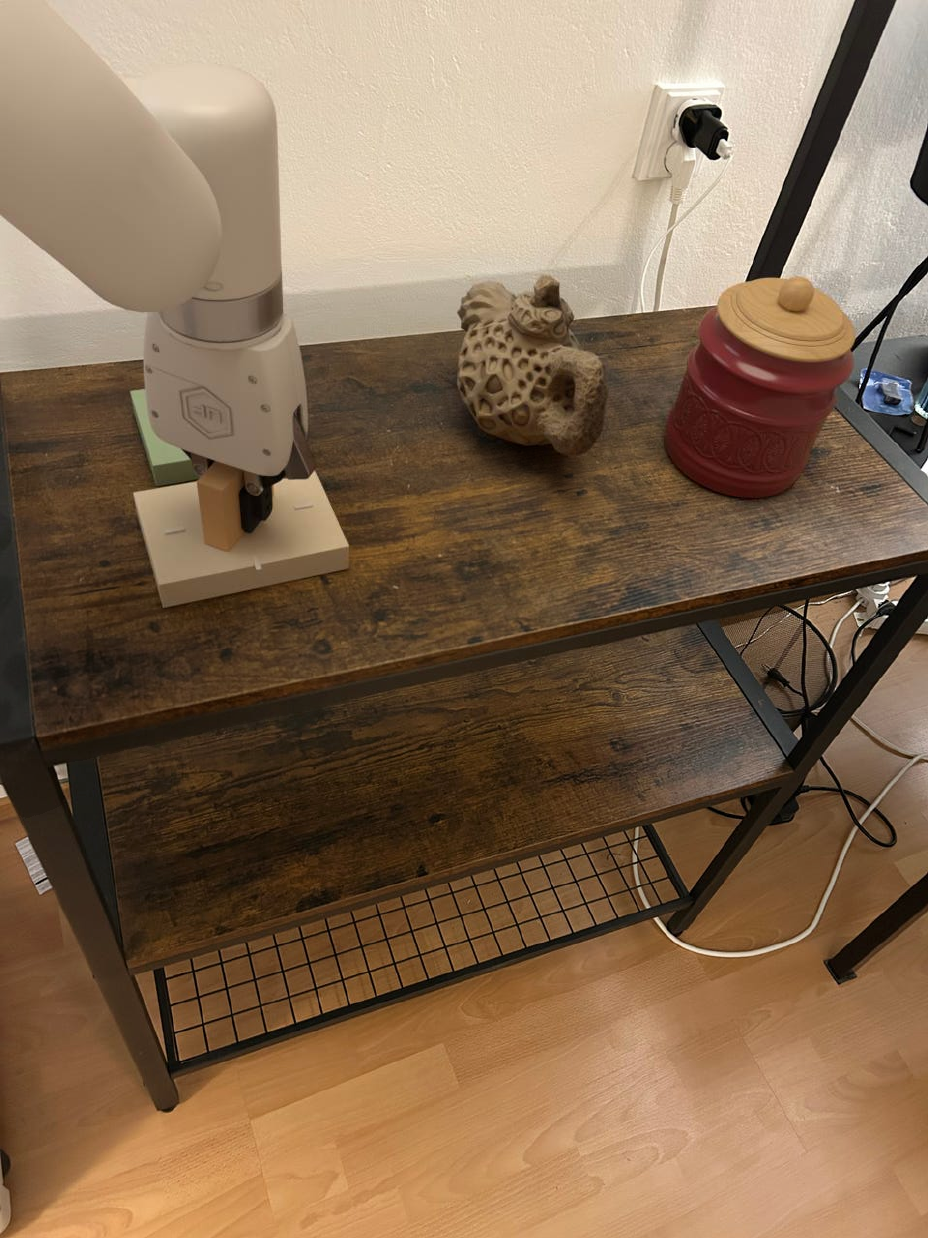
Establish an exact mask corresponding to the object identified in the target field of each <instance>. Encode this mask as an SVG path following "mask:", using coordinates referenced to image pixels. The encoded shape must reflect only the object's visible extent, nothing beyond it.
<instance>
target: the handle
mask: <svg viewBox="0 0 928 1238" xmlns="http://www.w3.org/2000/svg"><path fill="white" fill-rule="evenodd" d="M196 482H197V488H198V496H199V504H200V512H201V519H202V527H203V535H204V543H205V544H208V545H211V546H214V547H216V548H219V549H222V550H225V551H227V552H229V551H230V549H231V548H232V547H233V546H234V544H235V543H236V542H237V541H238V539H239V538H240V537H241V536H242V534H243V533H244V531H243V529H242V527H241V515H240V504H239V492H240V490H241V489H242V488H243V487H244V486H245V480H244V470H242V469H239V468H236V467H233V466H230V465H227V464H224V463H221V462H218V461H215V462H214V463H213V464H212V465H211V466H210V467H209V469H208V470H207V471H206V472H205V473H204V474H203V475H202V476H201V477H200V479H197V480H196ZM273 495H274V485H272V497H273Z"/></svg>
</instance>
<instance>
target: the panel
mask: <svg viewBox="0 0 928 1238" xmlns="http://www.w3.org/2000/svg"><path fill="white" fill-rule="evenodd" d="M132 494H133V499H134V500H133V501H134V505H135V510H136V515H137V519H138V522H139V527H140V530H141V533H142V537H143V541H144V544H145V549H146V551H147V555H148V558H149V562H150V566H151V569H152V573H153V576H154V581H155V584H156V587H157V591H158V595H159V598H160V603H161V605H162V608H163V609H165V608H170V607H174V606H175V607H176V606H179V605H185V604H188V603H193V602H197V601H198V602H199V601H203V600H207V599H208V600H209V599H212V598H217V597H221V596H226V595H230V594H231V595H232V594H235V593H240V592H246V591H251V590H255V589H259V588H260V589H261V588H264V587H267V586H273V585H277V584H283V583H287V582H292V581H297V580H301V579H306V578H311V577H316V576H320V575H324V574H329V573H335V572H338V571H344V570H348V569H349V566H350V564H349V562H350V545H349V542H348V540H347V538H346V536H345V534H344V532H343V531H344V530H342V527H341V525H340V522H339V520H338V518H337V516H336V514H335V511H334V510H333V507H332V505H331V503H330V501H329V499H328V495H327V494H326V492H325V489H324V487H323V485H322V483H321V481H320V478H319V476H318V474H317V471H316V470H315V471H314V472H313V473H312V474H311V476H310V477H309V478H308V479H304V480H288V479H282V480H281V481H280V482H278V483H276V484H274V495H273V497H272V500H273V508H272V512H271V514H270V516H269V517H268V518H267V519H266V521H261V522H260V523H259V524H258V526H257V527H256V528H255V530H254V531H253V532H252V533H251V534H250V533H247V532H244V533H243V534H242V536H241V537H240V538H239V539H238V541H237V542H236V543H235V544H234V546H233V547H232V548H231V549H230V551H229V552H227V551H225V550H222V549H219V548H216V547H214V546H211V545H208V544H205V543H204V535H203V527H202V519H201V512H200V504H199V496H198V488H197V481H191V482H187V483H181V484H174V485H169V486H163V487H157V488H152V489H147V490H139V491H134V492H133V493H132Z"/></svg>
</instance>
